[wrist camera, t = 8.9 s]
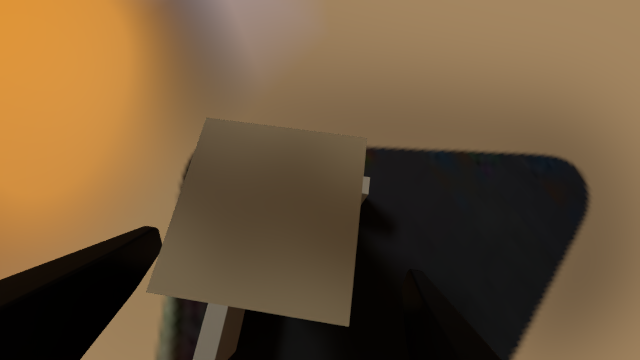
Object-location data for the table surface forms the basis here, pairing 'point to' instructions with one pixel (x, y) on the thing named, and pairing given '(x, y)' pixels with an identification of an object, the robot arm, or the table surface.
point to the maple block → (266, 222)
